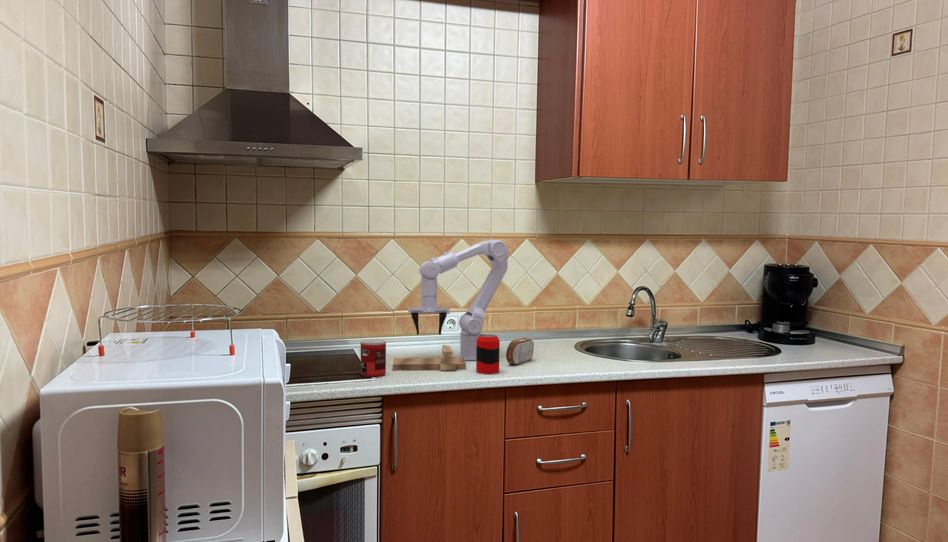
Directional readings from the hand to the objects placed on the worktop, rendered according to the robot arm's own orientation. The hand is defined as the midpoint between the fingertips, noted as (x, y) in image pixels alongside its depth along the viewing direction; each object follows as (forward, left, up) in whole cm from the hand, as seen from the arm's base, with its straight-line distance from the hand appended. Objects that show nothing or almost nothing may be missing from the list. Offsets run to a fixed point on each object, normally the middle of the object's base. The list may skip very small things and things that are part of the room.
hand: (428, 334), depth 227 cm
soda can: (-19, +18, -10) cm, 28 cm away
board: (0, +10, -9) cm, 14 cm away
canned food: (+18, +21, -10) cm, 29 cm away
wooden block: (-6, +11, -9) cm, 16 cm away
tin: (-32, +5, -10) cm, 34 cm away
